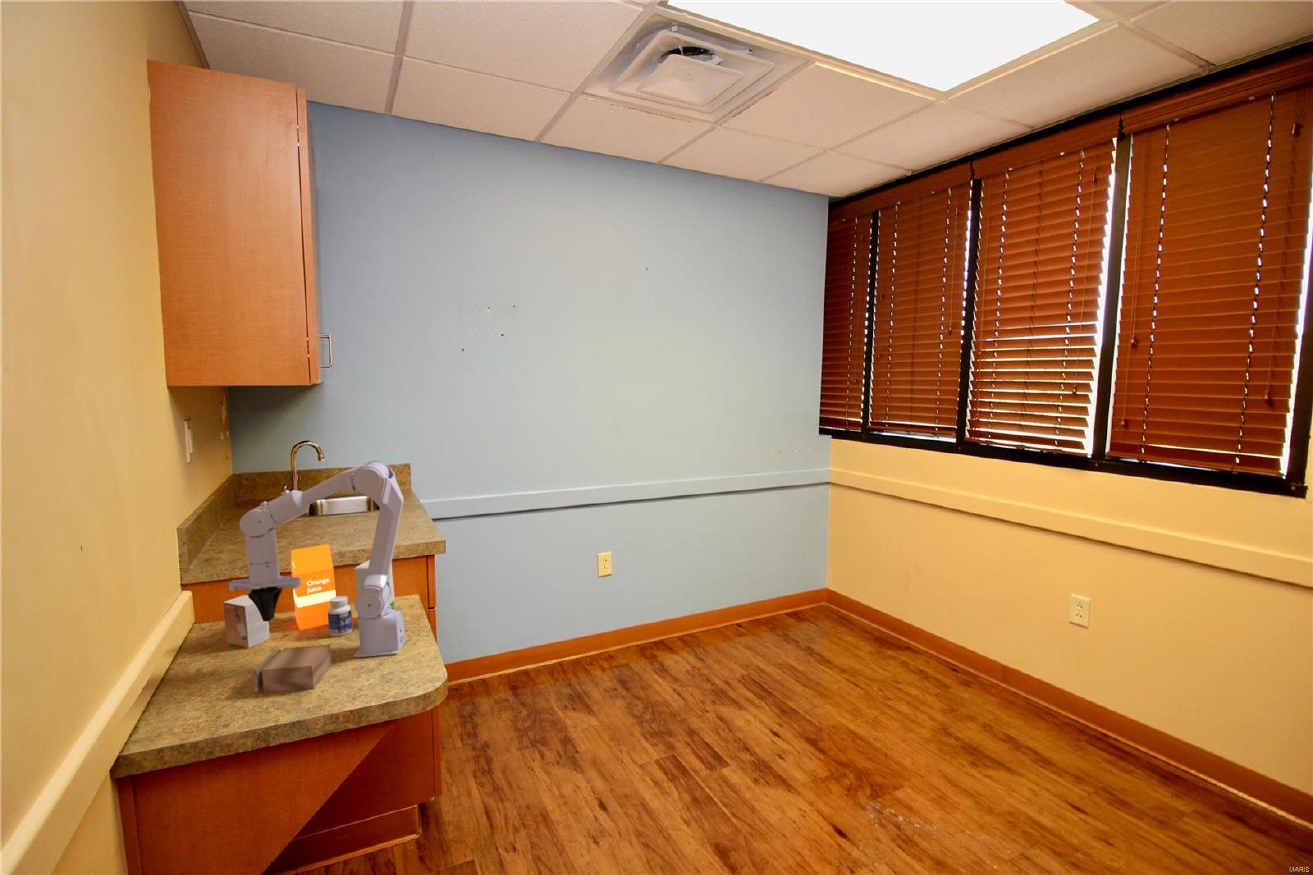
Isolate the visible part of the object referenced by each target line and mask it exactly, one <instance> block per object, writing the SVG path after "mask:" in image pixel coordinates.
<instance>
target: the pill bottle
mask: <svg viewBox="0 0 1313 875" xmlns="http://www.w3.org/2000/svg"><path fill="white" fill-rule="evenodd" d="M348 603H349V598H348V596H347V595H336V597H333V598H331V599H330V606H331V607H330V608H329V609H328V625H327V626H328V633H329V636H331V637H341V636H345V635H348V634H351V633H352V631H353V618H352V617H353V615H352V607H351V605H350V604H348Z"/></svg>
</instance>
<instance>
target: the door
mask: <svg viewBox="0 0 1313 875" xmlns="http://www.w3.org/2000/svg"><path fill="white" fill-rule="evenodd" d="M281 650H282V649H275V650H273V652H272V653H270V654H269V655H268V656H267V657H265V659H263V661H261V662H260V663H259V664H258V665H257V666H255V667H254V668H253V669H252V670H251V672H252V681H253V682H252V683H253V692H254V693H255V692H256V693H257V692H260V690H262V689H264V688H263V678H262V669H263V668H264V667H265V666H266V665H267V664H268V663H269V662H270V661H271V660H272V659H273V658H274V657H275V656H276V655H277V654H278V653H279V652H280V651H281Z"/></svg>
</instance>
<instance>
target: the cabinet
mask: <svg viewBox="0 0 1313 875" xmlns="http://www.w3.org/2000/svg"><path fill="white" fill-rule="evenodd" d="M280 650H281V651H280V652H279V653H278V654H277V655H276V656H275V657H274V658H273V659H272V660H271V661H270V662H269V663H268V664H267V665H266V666H265V667H264V668H263V669H262V678H263V688H262V689H263V694H271V693H283V692H285V693H286V692H294V691H306V690H315V688H316V687H317V685H318V684H319V682H320V681H321V680H322V679H323V678H324V677H325V675H327V673H328V671H329V670H330V669H331V668H332V656H331V645H330V644H324V645H323V644H320V645H309V646H308V645H307V646H299V647H298V646H297V647H286V648H282V649H280Z"/></svg>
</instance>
